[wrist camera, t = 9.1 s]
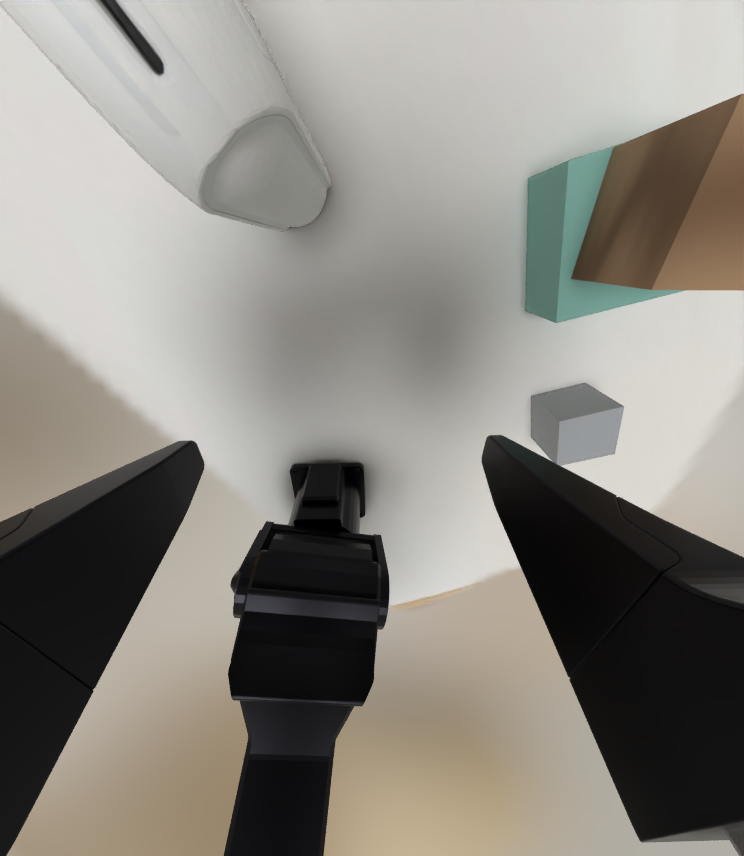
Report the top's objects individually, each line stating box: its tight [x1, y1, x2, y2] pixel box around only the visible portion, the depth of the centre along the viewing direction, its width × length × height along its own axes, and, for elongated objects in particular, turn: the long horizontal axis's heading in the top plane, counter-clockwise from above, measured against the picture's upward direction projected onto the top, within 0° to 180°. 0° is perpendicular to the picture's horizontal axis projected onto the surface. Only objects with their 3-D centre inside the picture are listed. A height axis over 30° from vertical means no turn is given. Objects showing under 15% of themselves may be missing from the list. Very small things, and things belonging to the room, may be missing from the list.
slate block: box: [531, 383, 624, 466], centre depth 22 cm, size 4×4×4 cm
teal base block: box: [525, 143, 685, 323], centre depth 16 cm, size 7×7×4 cm
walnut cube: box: [571, 94, 744, 290], centre depth 12 cm, size 5×5×5 cm
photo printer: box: [0, 0, 331, 231], centre depth 9 cm, size 10×4×12 cm, turn 36°
